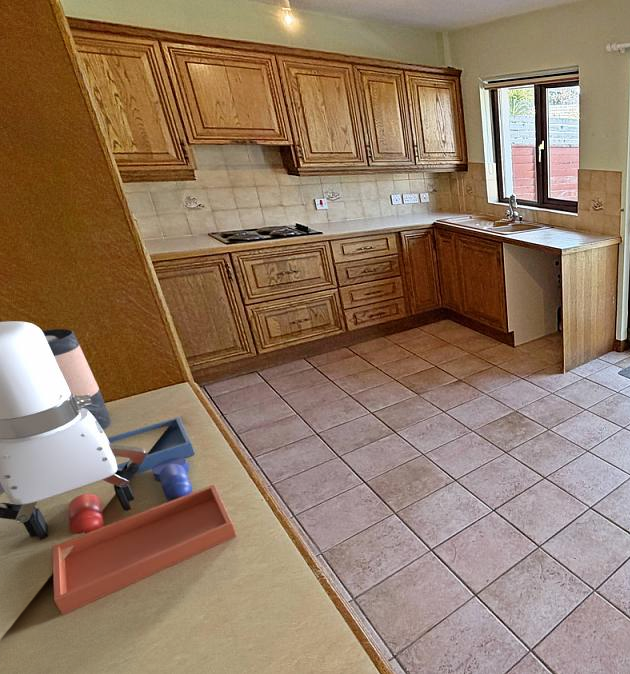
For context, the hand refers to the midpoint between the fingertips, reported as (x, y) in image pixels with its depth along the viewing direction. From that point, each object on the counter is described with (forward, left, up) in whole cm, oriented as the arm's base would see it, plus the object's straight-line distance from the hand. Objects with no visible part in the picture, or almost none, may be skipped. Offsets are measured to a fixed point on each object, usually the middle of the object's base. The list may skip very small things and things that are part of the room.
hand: (87, 519), depth 68 cm
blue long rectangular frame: (-3, +16, -1) cm, 17 cm away
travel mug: (-12, +27, -1) cm, 29 cm away
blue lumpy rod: (+8, +7, -1) cm, 10 cm away
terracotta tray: (+10, -7, -1) cm, 12 cm away
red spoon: (-1, +2, -1) cm, 3 cm away
